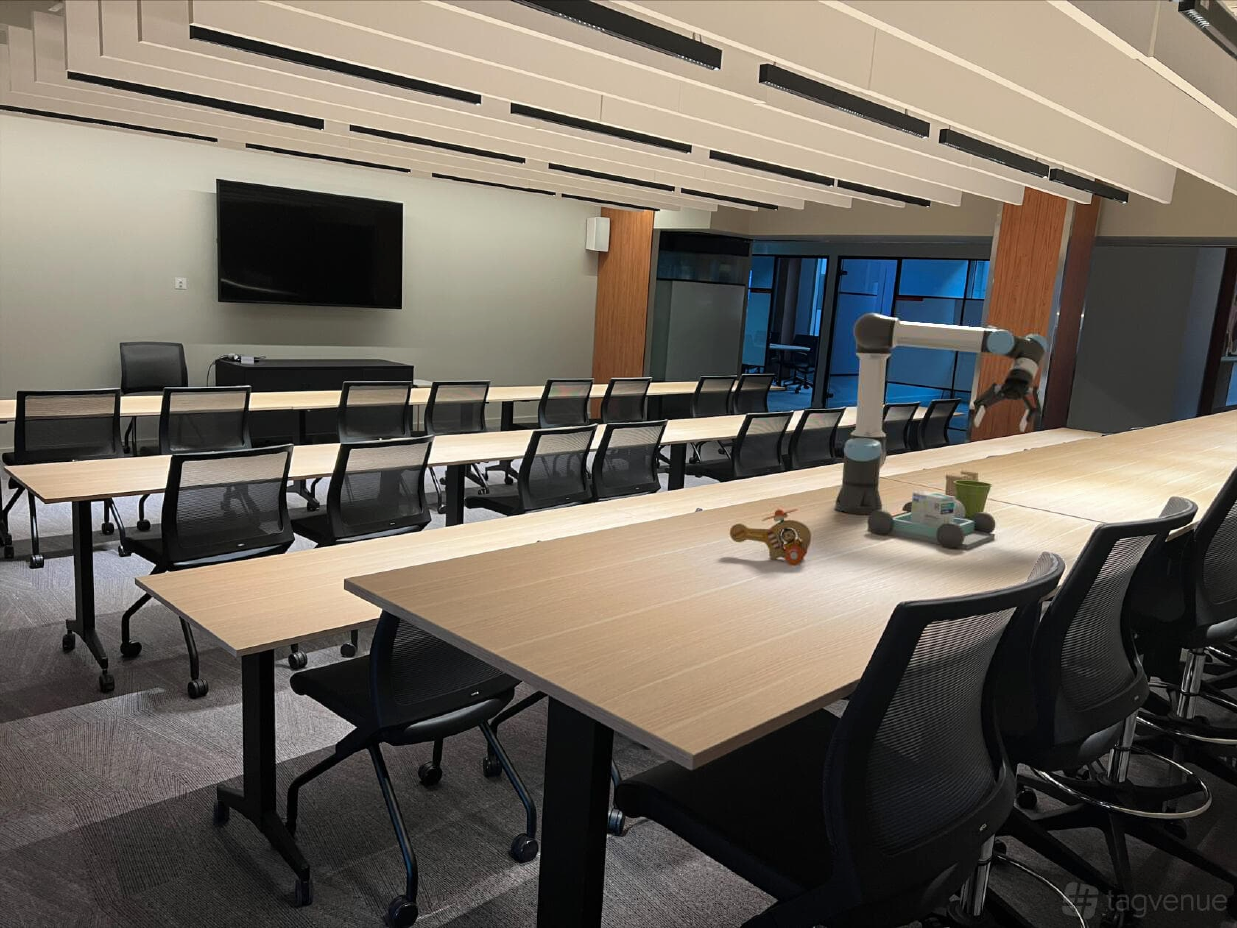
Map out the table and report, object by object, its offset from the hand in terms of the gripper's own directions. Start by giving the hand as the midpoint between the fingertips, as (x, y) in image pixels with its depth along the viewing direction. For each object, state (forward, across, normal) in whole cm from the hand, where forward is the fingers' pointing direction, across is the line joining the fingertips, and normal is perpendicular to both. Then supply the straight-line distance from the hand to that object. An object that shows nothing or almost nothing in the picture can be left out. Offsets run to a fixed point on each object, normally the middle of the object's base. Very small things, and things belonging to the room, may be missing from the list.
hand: (998, 426), depth 276 cm
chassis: (+39, -8, +6) cm, 40 cm away
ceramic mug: (+26, -10, +19) cm, 34 cm away
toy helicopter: (+82, -23, -37) cm, 93 cm away
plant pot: (+13, -11, +32) cm, 36 cm away
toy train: (-6, -25, +51) cm, 57 cm away
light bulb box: (+38, -8, +5) cm, 39 cm away
